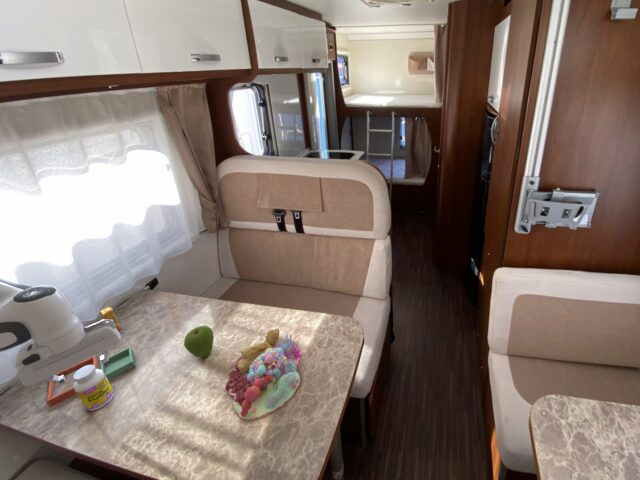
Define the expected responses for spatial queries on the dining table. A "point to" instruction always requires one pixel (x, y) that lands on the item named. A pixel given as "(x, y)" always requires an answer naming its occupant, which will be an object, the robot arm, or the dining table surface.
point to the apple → (199, 341)
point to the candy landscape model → (264, 377)
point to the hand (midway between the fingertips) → (85, 371)
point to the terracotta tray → (71, 391)
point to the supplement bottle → (92, 387)
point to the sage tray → (118, 363)
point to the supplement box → (110, 316)
